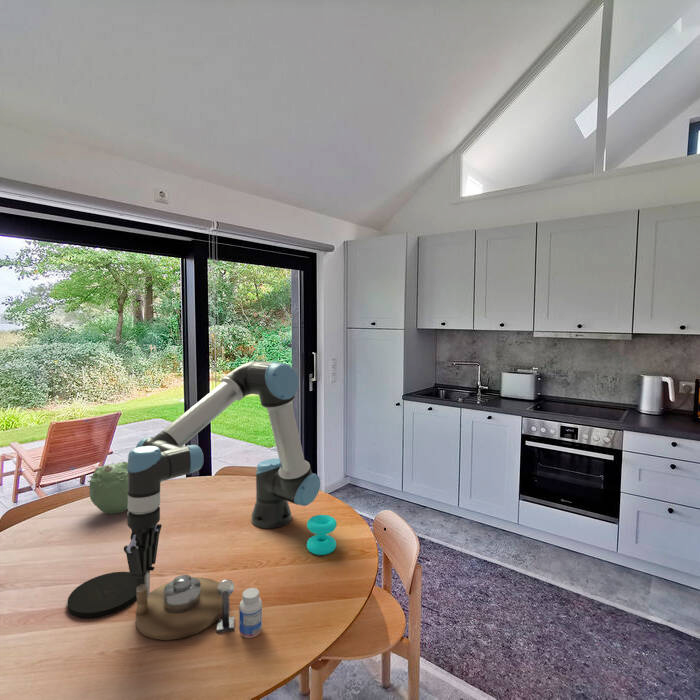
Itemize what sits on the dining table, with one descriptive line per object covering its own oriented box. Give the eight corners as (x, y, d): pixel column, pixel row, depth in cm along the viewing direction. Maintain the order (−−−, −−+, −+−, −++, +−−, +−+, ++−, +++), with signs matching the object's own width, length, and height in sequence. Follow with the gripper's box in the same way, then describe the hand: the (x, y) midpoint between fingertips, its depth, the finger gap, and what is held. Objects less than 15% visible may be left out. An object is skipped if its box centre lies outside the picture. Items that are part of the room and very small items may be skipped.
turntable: (174, 577, 123) (174, 549, 123) (242, 590, 118) (242, 562, 117) (114, 628, 102) (114, 596, 102) (193, 648, 96) (193, 614, 96)
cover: (178, 588, 115) (178, 567, 115) (207, 594, 113) (207, 573, 113) (155, 609, 107) (155, 586, 106) (186, 616, 104) (186, 593, 104)
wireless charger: (95, 577, 124) (95, 570, 124) (154, 579, 124) (154, 572, 124) (50, 618, 107) (50, 611, 107) (119, 621, 106) (119, 614, 106)
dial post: (234, 619, 107) (234, 574, 107) (233, 630, 103) (234, 583, 103) (217, 621, 106) (217, 576, 106) (216, 633, 102) (216, 586, 102)
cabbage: (150, 509, 169) (150, 461, 168) (99, 526, 154) (98, 473, 153) (132, 499, 179) (131, 453, 178) (82, 514, 164) (81, 464, 163)
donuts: (300, 519, 141) (322, 510, 149) (300, 548, 142) (322, 538, 149) (321, 529, 135) (342, 519, 142) (320, 560, 135) (342, 548, 143)
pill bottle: (241, 623, 106) (241, 585, 105) (263, 622, 106) (263, 585, 106) (237, 639, 100) (237, 600, 100) (260, 638, 101) (260, 599, 100)
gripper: (145, 496, 114) (144, 580, 116) (113, 518, 101) (112, 612, 103) (171, 499, 114) (170, 583, 115) (142, 521, 101) (141, 615, 102)
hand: (143, 596), depth 109 cm, fingers closed
